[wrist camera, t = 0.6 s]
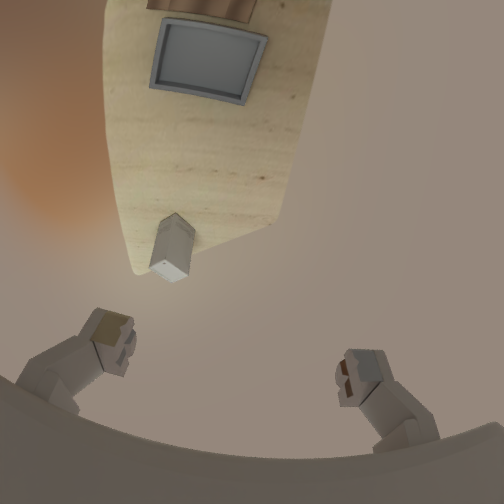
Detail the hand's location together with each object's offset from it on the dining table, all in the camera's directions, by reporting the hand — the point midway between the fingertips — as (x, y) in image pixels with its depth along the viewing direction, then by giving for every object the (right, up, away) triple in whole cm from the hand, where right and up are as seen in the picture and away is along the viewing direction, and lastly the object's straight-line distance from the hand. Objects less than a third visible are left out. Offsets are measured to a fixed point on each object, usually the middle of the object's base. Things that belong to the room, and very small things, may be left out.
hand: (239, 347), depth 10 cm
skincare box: (-19, +11, +65) cm, 69 cm away
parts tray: (-8, +38, +31) cm, 50 cm away
